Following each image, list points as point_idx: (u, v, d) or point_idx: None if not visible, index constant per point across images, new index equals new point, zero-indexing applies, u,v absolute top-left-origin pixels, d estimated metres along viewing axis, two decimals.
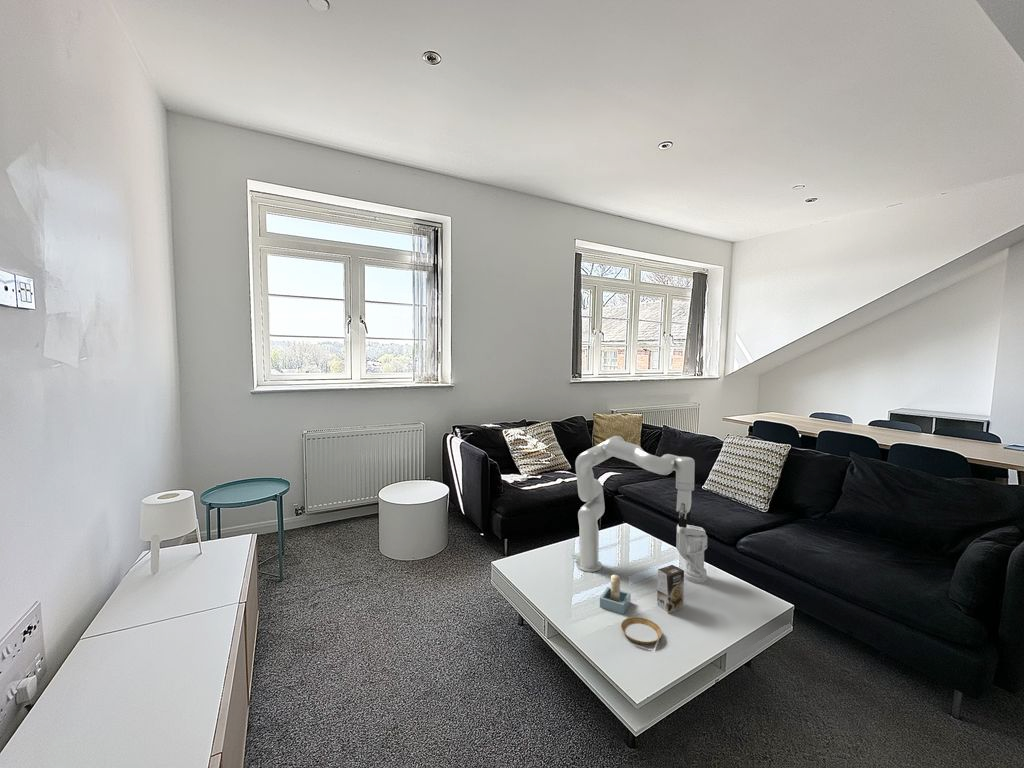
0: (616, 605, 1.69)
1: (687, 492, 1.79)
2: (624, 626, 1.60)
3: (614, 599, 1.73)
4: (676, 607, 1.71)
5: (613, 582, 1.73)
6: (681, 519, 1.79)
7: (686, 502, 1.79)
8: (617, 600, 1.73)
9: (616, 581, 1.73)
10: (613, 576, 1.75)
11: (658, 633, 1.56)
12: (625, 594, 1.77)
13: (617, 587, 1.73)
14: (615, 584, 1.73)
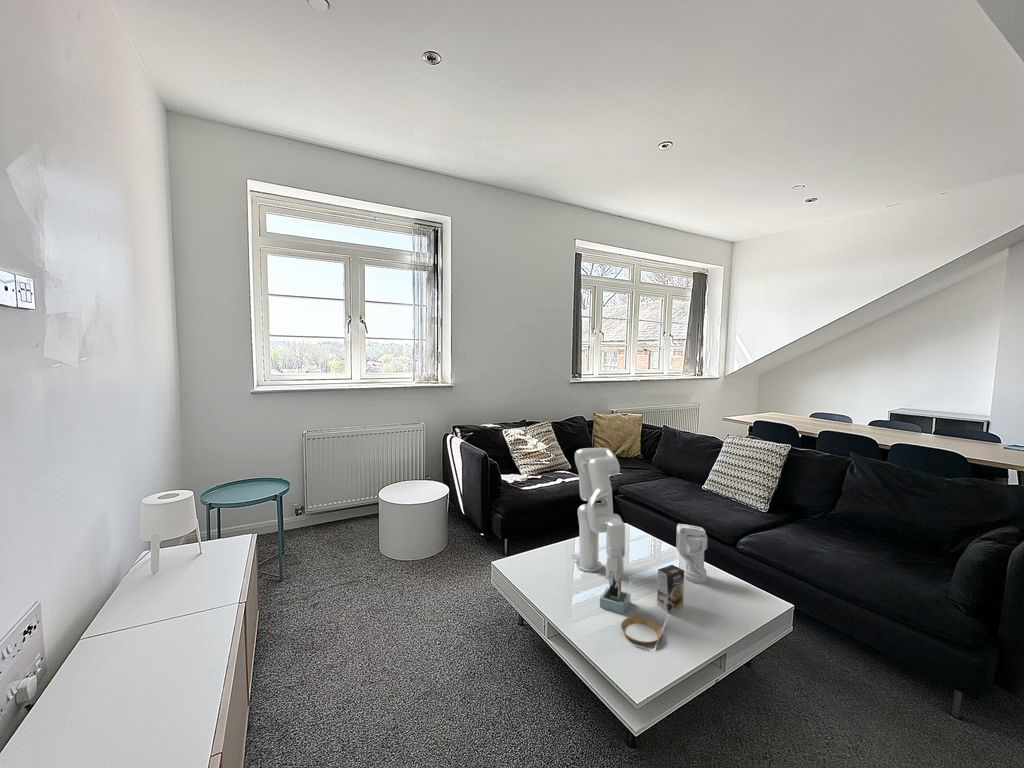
0: (616, 605, 1.69)
1: (616, 559, 1.70)
2: (624, 626, 1.60)
3: (614, 599, 1.73)
4: (676, 607, 1.71)
5: (613, 582, 1.73)
6: (612, 588, 1.72)
7: (615, 570, 1.69)
8: (617, 600, 1.73)
9: None
10: None
11: (658, 633, 1.56)
12: (625, 594, 1.77)
13: None
14: None
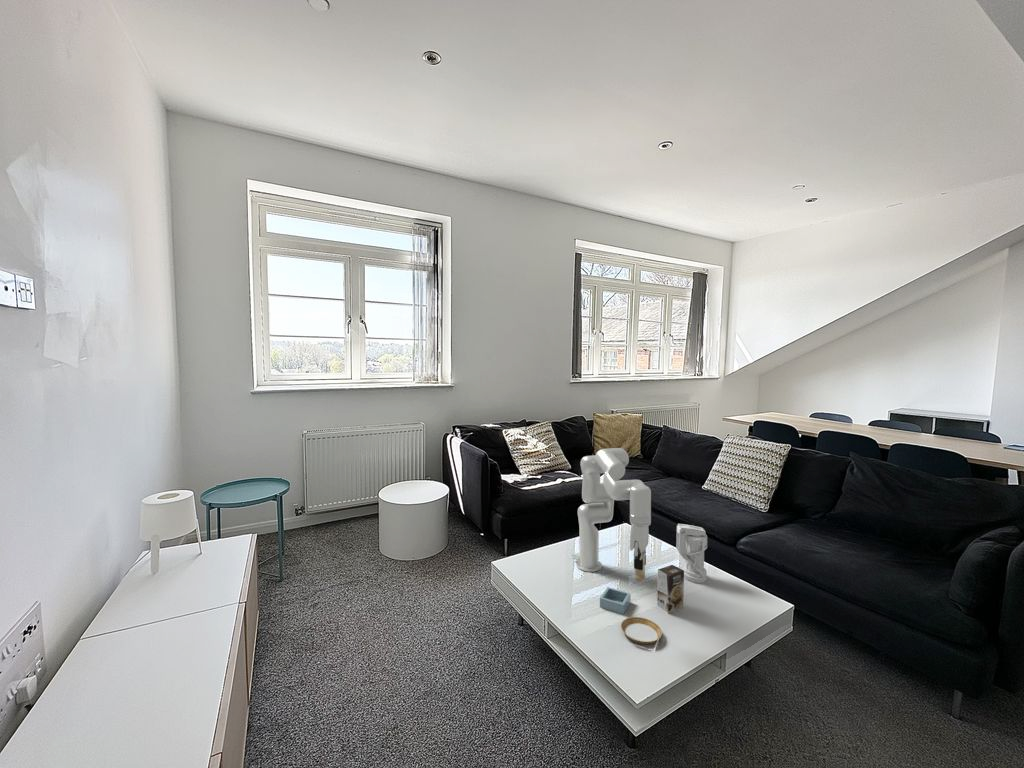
0: (616, 605, 1.69)
1: (641, 528, 1.51)
2: (624, 626, 1.60)
3: (639, 573, 1.55)
4: (676, 607, 1.71)
5: None
6: (636, 560, 1.54)
7: (640, 540, 1.51)
8: (642, 574, 1.55)
9: None
10: None
11: (658, 633, 1.56)
12: (625, 594, 1.77)
13: None
14: None
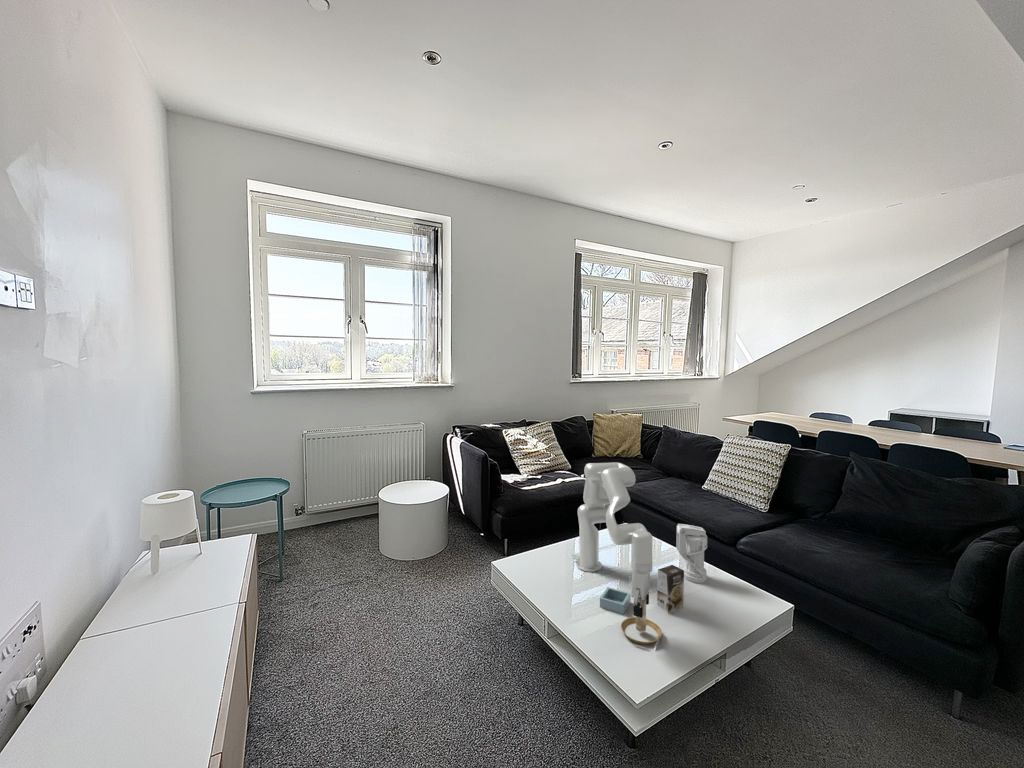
0: (616, 605, 1.69)
1: (643, 575, 1.51)
2: (624, 626, 1.60)
3: (640, 623, 1.55)
4: (676, 607, 1.71)
5: None
6: (636, 607, 1.51)
7: (642, 587, 1.51)
8: (643, 624, 1.55)
9: (642, 603, 1.54)
10: None
11: (658, 633, 1.56)
12: (625, 594, 1.77)
13: (643, 609, 1.54)
14: None
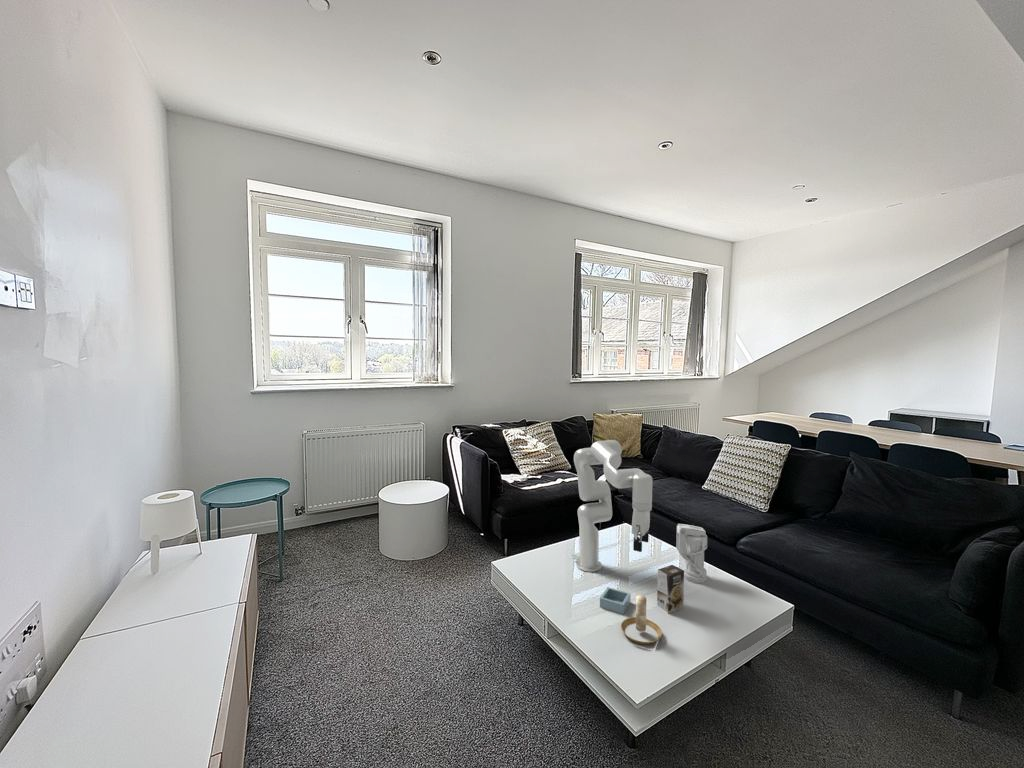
0: (616, 605, 1.69)
1: (643, 513, 1.63)
2: (624, 626, 1.60)
3: (640, 623, 1.55)
4: (676, 607, 1.71)
5: (638, 603, 1.55)
6: (636, 542, 1.63)
7: (641, 524, 1.62)
8: (643, 624, 1.55)
9: (642, 603, 1.54)
10: (639, 597, 1.56)
11: (658, 633, 1.56)
12: (625, 594, 1.77)
13: (643, 610, 1.54)
14: (641, 607, 1.54)
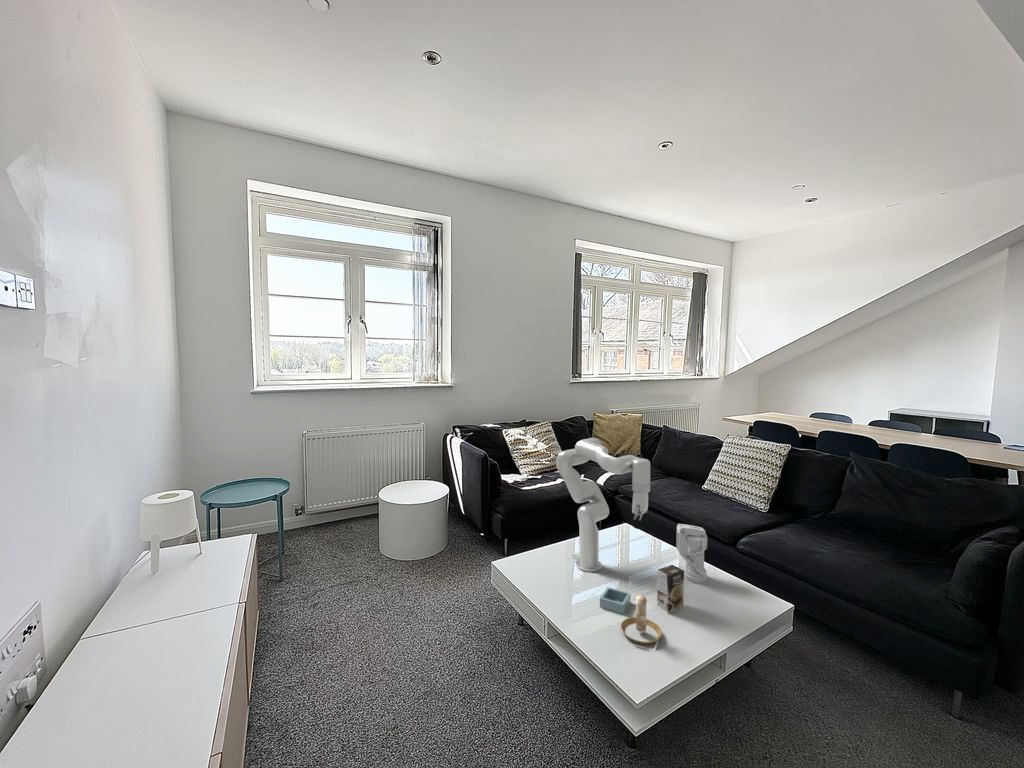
0: (616, 605, 1.69)
1: (642, 494, 1.80)
2: (624, 626, 1.60)
3: (640, 623, 1.55)
4: (676, 607, 1.71)
5: (638, 604, 1.54)
6: (636, 520, 1.80)
7: (641, 504, 1.79)
8: (643, 624, 1.55)
9: (642, 604, 1.54)
10: (639, 597, 1.56)
11: (658, 633, 1.56)
12: (625, 594, 1.77)
13: (643, 610, 1.54)
14: (641, 607, 1.54)
